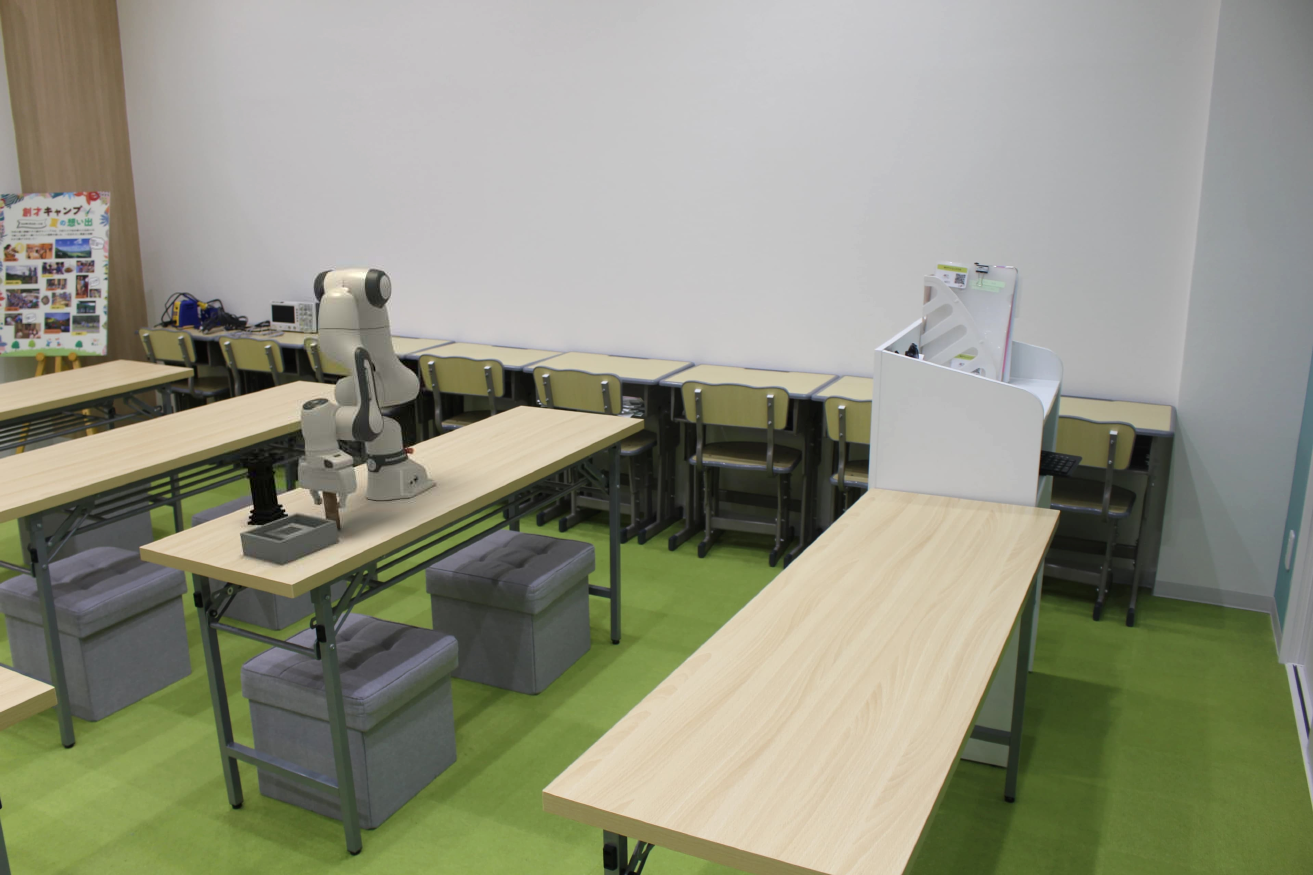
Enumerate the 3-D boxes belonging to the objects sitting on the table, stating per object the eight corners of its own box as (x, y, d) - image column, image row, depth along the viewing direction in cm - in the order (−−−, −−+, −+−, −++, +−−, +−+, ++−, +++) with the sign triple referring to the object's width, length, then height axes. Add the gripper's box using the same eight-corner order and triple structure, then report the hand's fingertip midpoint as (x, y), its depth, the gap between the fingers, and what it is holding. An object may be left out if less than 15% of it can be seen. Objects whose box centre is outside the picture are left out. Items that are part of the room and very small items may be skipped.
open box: (300, 533, 263) (297, 512, 261) (338, 541, 254) (336, 521, 253) (243, 554, 248) (240, 533, 246) (282, 564, 240) (279, 542, 238)
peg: (335, 527, 266) (329, 486, 263) (343, 529, 264) (338, 488, 261) (324, 531, 263) (319, 490, 260) (333, 533, 261) (328, 492, 258)
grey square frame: (294, 536, 257) (292, 522, 256) (316, 541, 252) (314, 527, 251) (266, 547, 249) (263, 533, 248) (288, 553, 245) (285, 538, 244)
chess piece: (272, 525, 270) (262, 458, 265) (247, 524, 271) (237, 458, 266) (288, 516, 277) (278, 451, 272) (264, 515, 279) (254, 450, 274)
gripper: (289, 457, 261) (296, 505, 264) (339, 463, 251) (345, 513, 254) (307, 452, 266) (314, 499, 269) (357, 458, 256) (364, 506, 259)
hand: (330, 506), depth 261 cm, fingers open, 8 cm apart
